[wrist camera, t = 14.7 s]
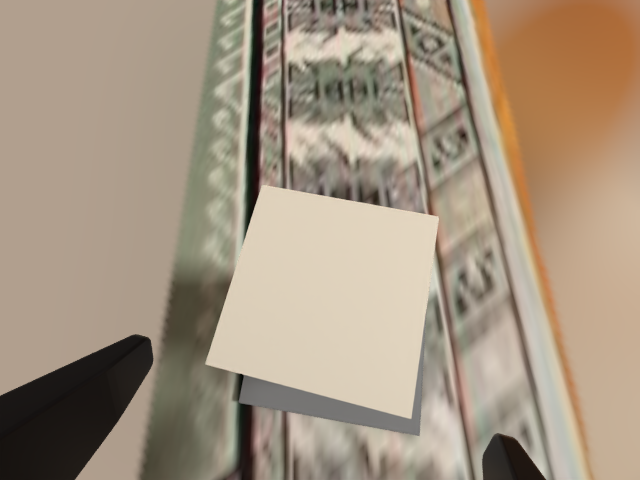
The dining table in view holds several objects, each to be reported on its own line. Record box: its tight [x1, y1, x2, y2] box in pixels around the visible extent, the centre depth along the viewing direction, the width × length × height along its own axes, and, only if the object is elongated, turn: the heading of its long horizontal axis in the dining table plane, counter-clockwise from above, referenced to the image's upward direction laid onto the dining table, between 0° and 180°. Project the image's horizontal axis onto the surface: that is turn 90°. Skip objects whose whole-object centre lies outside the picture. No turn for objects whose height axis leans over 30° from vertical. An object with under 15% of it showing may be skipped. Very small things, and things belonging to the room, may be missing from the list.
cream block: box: [205, 185, 439, 419], centre depth 14 cm, size 5×5×12 cm
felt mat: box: [239, 315, 426, 436], centre depth 20 cm, size 10×10×1 cm
